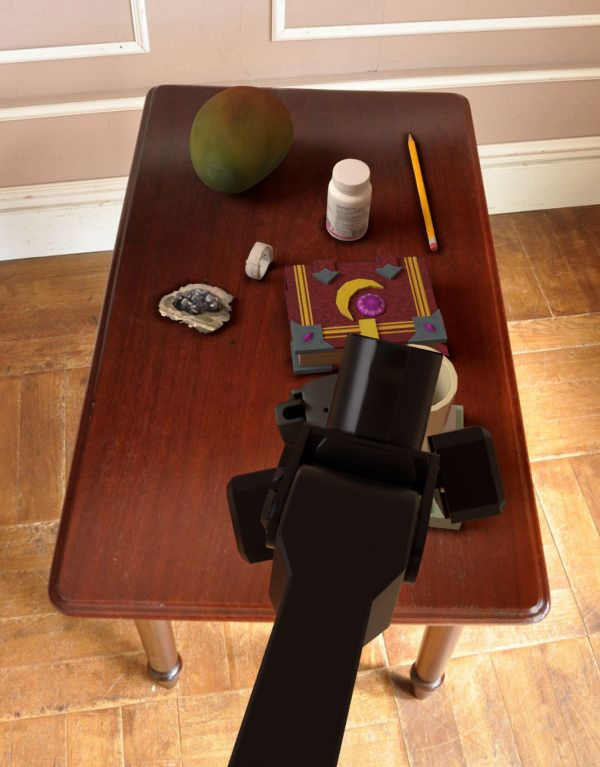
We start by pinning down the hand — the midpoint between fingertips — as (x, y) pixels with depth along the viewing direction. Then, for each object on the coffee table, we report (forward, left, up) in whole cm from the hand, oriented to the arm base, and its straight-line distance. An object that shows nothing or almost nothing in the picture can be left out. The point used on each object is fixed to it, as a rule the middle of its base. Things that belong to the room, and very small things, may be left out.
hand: (369, 482), depth 68 cm
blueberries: (+24, +19, -11) cm, 32 cm away
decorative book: (+24, +1, -11) cm, 26 cm away
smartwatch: (+30, +13, -11) cm, 34 cm away
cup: (+8, -3, -8) cm, 11 cm away
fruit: (+45, +17, -11) cm, 49 cm away
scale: (+8, -3, -11) cm, 13 cm away
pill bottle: (+38, +4, -11) cm, 39 cm away
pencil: (+45, -4, -11) cm, 46 cm away
